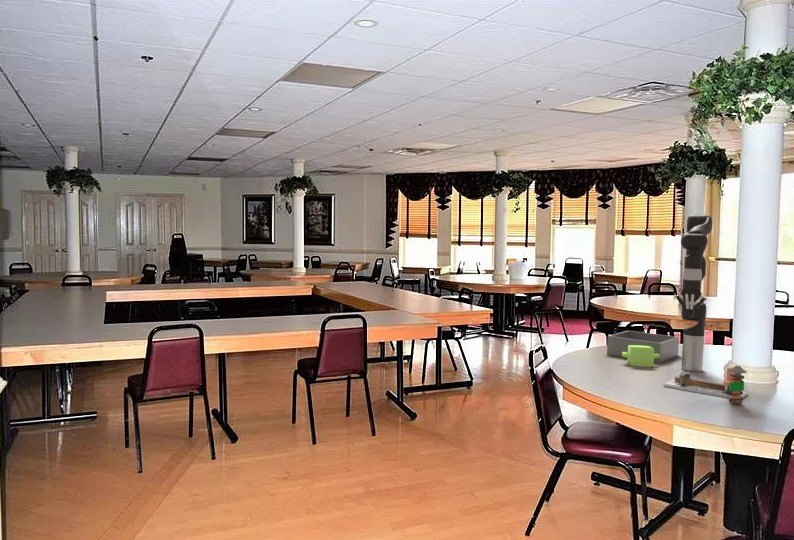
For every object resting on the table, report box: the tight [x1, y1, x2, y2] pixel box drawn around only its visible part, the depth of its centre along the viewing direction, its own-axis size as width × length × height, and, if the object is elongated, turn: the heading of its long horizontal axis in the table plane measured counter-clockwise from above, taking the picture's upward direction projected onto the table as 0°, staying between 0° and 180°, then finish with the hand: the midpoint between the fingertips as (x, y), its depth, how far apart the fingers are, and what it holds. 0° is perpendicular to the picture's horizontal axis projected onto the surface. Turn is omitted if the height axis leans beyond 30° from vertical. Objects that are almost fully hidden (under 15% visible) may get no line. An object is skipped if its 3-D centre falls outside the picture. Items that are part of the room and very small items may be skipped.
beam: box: [674, 371, 741, 393], centre depth 270 cm, size 8×26×4 cm, turn 48°
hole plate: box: [663, 378, 749, 399], centre depth 270 cm, size 12×30×1 cm, turn 48°
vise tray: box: [606, 330, 680, 364], centre depth 344 cm, size 28×28×10 cm
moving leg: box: [723, 366, 734, 392], centre depth 264 cm, size 8×3×9 cm, turn 138°
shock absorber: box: [728, 365, 748, 406], centre depth 250 cm, size 6×6×15 cm
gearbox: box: [622, 345, 660, 368], centre depth 319 cm, size 18×10×10 cm, turn 84°
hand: (689, 317), depth 283 cm, fingers closed
